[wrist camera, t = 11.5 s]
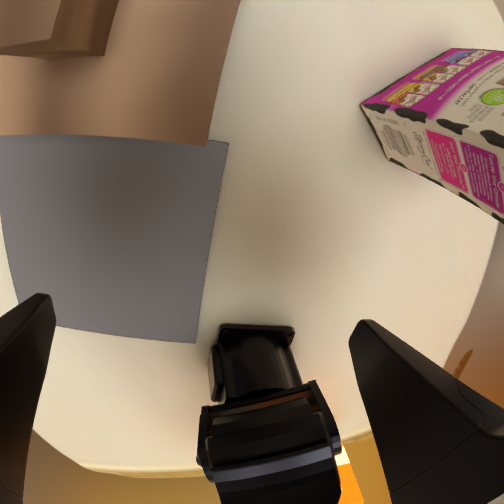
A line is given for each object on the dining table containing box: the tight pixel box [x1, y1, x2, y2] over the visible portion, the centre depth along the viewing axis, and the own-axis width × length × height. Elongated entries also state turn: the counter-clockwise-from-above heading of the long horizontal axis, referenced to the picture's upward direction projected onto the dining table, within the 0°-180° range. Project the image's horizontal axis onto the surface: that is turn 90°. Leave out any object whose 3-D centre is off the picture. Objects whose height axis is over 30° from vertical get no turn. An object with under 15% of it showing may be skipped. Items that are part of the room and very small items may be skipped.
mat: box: [0, 134, 229, 344], centre depth 18 cm, size 16×16×1 cm
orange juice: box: [335, 442, 364, 504], centre depth 27 cm, size 8×9×20 cm
